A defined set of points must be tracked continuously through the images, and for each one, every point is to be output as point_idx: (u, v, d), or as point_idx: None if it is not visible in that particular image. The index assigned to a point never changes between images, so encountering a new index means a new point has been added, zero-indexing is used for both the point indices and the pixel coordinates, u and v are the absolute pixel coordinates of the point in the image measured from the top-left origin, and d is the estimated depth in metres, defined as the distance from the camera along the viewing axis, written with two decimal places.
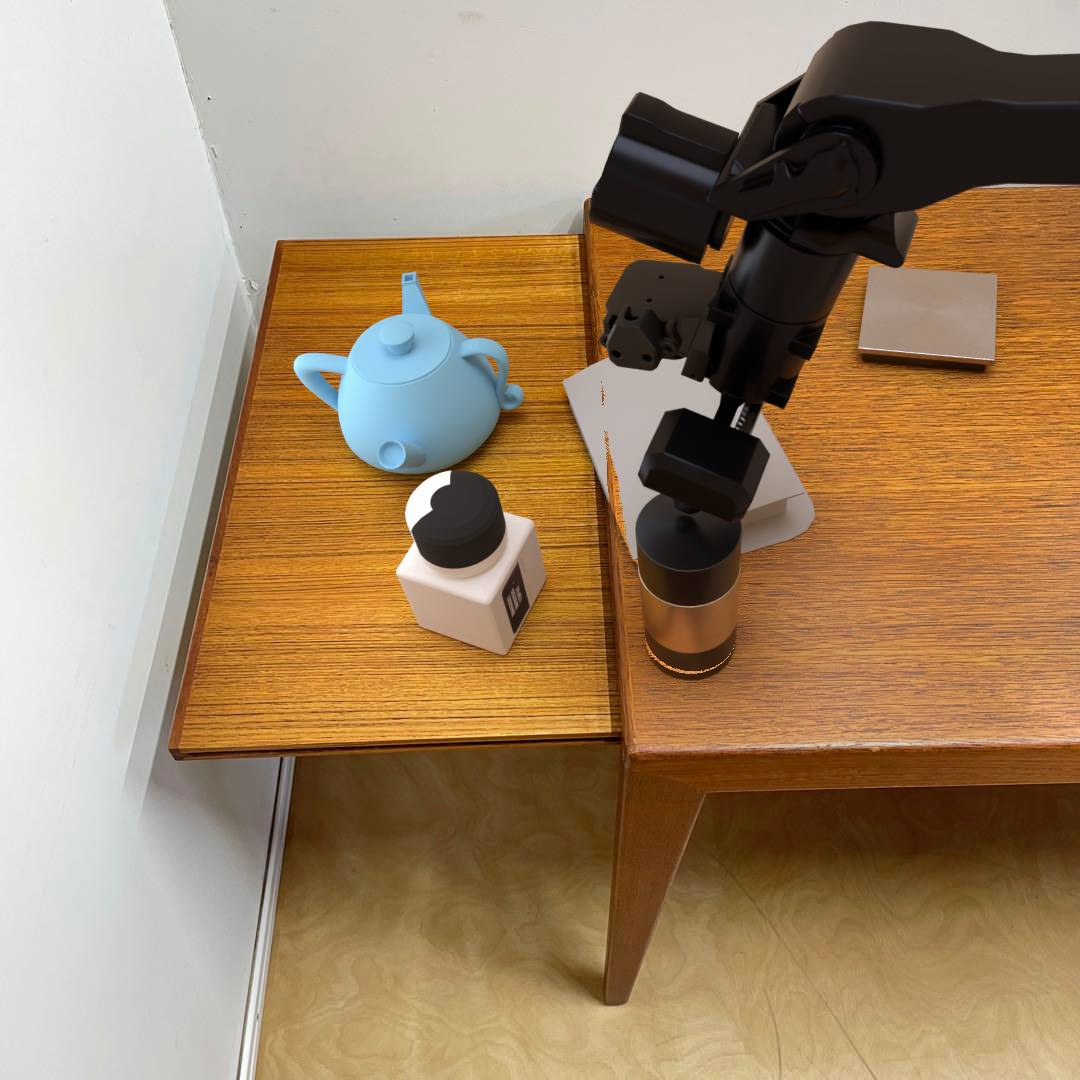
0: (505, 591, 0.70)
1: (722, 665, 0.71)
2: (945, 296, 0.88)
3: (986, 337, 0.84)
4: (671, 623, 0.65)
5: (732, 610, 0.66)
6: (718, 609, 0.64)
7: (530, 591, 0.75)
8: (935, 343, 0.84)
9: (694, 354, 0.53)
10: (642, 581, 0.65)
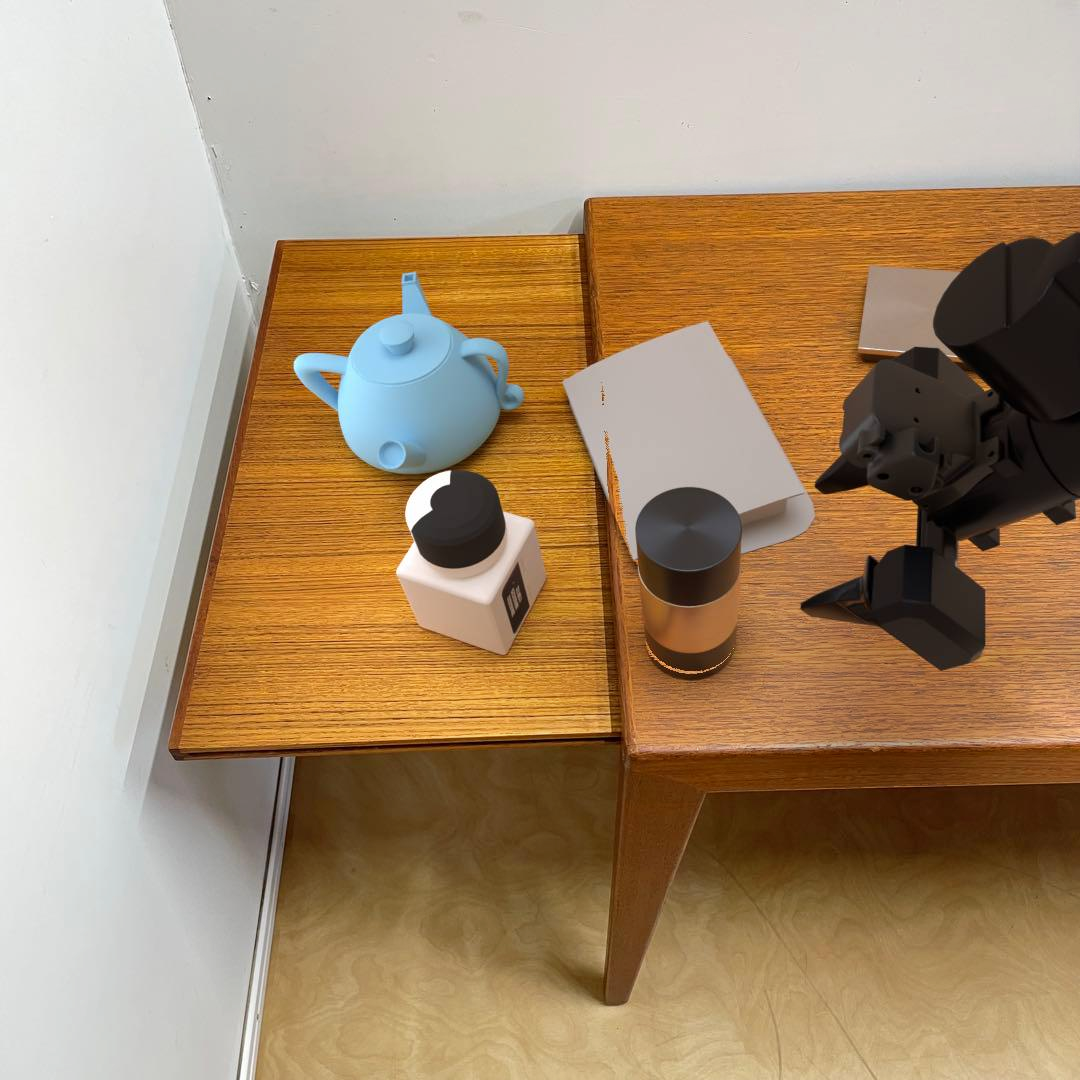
0: (505, 590, 0.70)
1: (722, 665, 0.71)
2: None
3: None
4: (671, 623, 0.65)
5: (732, 610, 0.66)
6: (718, 609, 0.64)
7: (530, 591, 0.75)
8: (935, 343, 0.84)
9: (949, 491, 0.49)
10: (642, 581, 0.65)
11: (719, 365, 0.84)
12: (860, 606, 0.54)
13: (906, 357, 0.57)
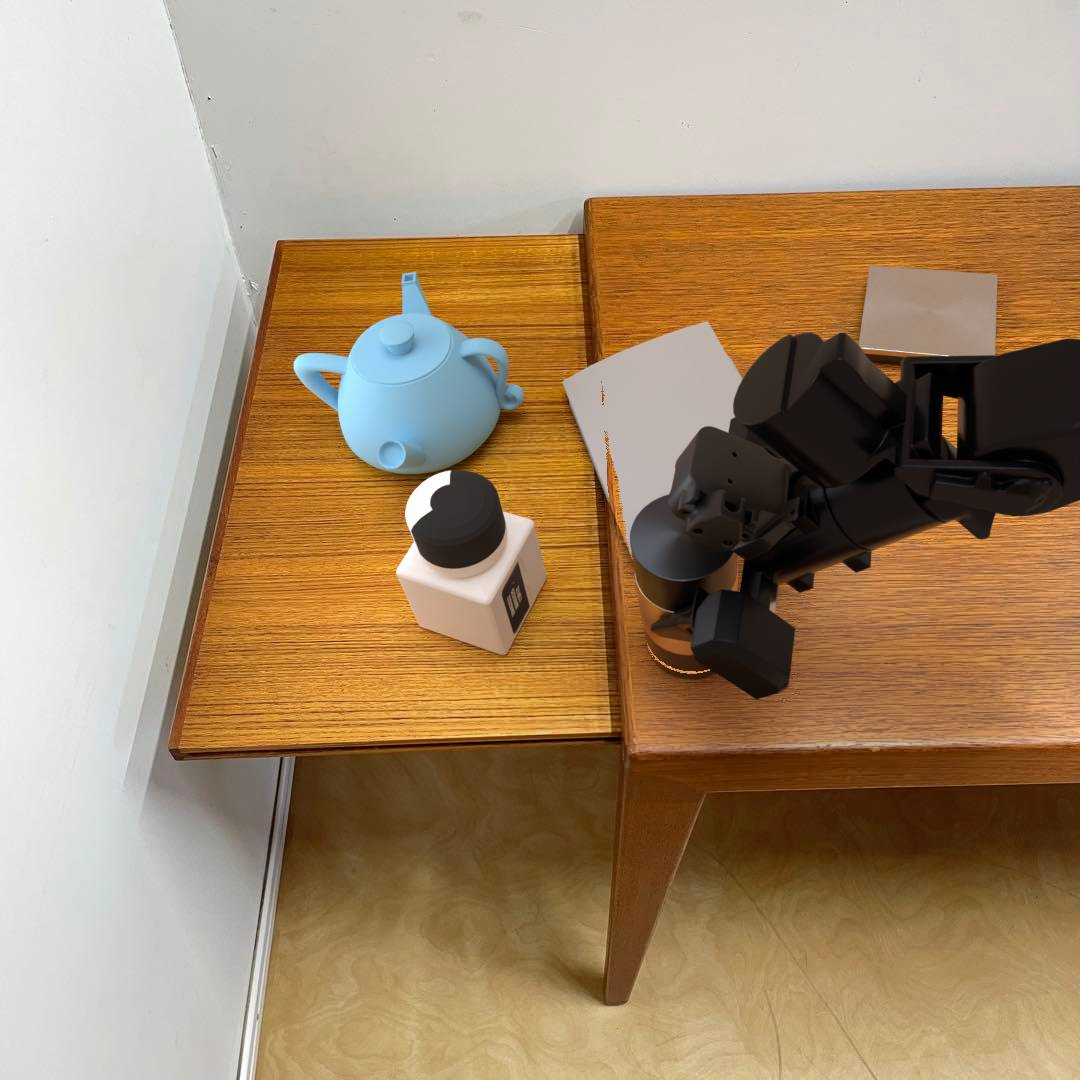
0: (505, 590, 0.70)
1: None
2: (945, 296, 0.88)
3: (986, 337, 0.84)
4: None
5: None
6: None
7: (530, 591, 0.75)
8: (935, 343, 0.84)
9: (760, 542, 0.56)
10: (638, 586, 0.64)
11: (719, 365, 0.84)
12: None
13: None
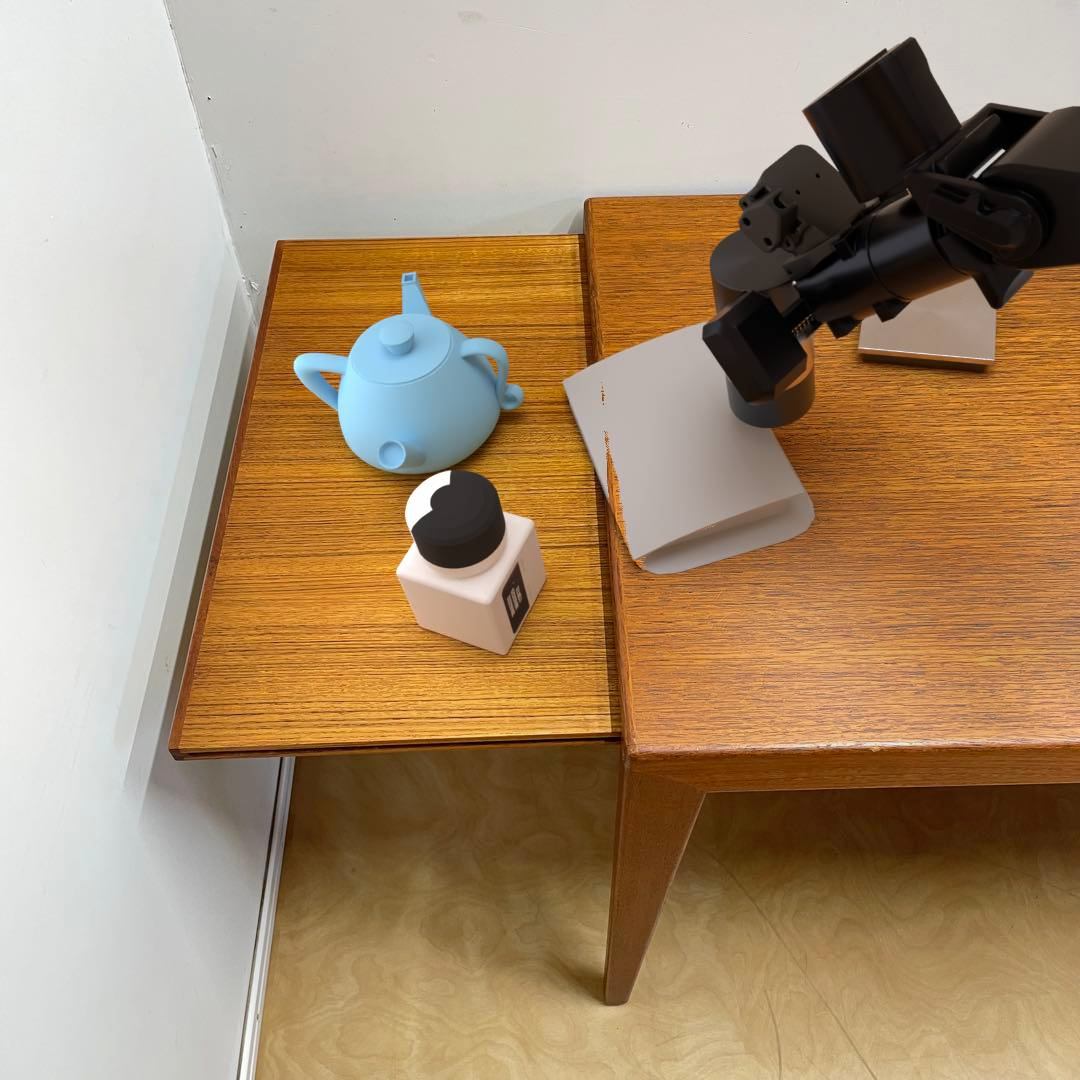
0: (505, 590, 0.70)
1: (779, 422, 0.75)
2: (945, 296, 0.88)
3: (986, 337, 0.84)
4: None
5: None
6: None
7: (530, 591, 0.75)
8: (935, 343, 0.84)
9: (803, 260, 0.60)
10: None
11: (719, 365, 0.84)
12: None
13: None
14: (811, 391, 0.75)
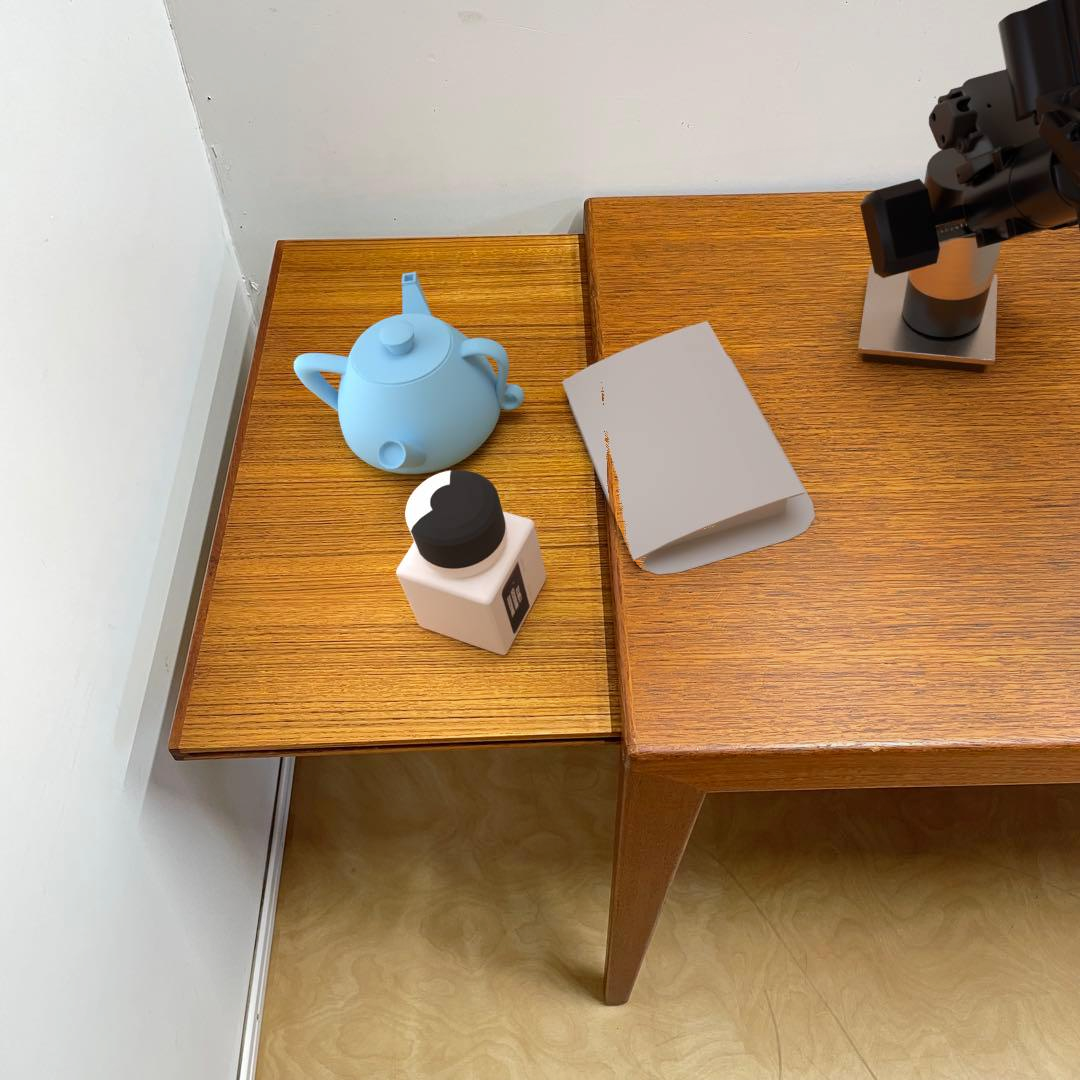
0: (505, 590, 0.70)
1: (933, 330, 0.84)
2: None
3: (986, 337, 0.84)
4: None
5: (957, 269, 0.79)
6: (943, 249, 0.78)
7: (530, 591, 0.75)
8: (935, 343, 0.84)
9: (969, 165, 0.69)
10: None
11: (719, 365, 0.84)
12: None
13: None
14: (973, 316, 0.83)
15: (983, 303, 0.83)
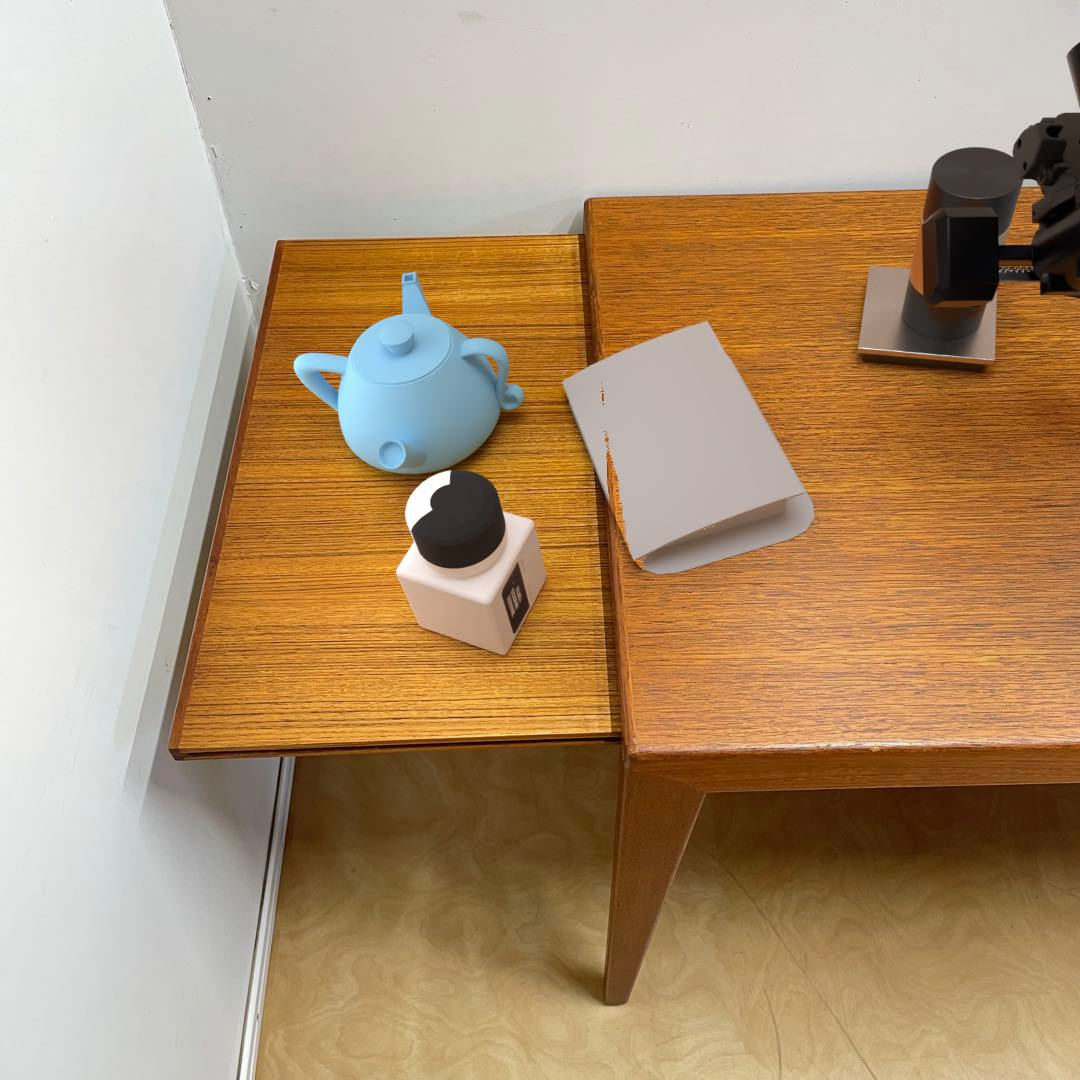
0: (505, 590, 0.70)
1: (933, 332, 0.84)
2: None
3: (986, 337, 0.84)
4: (917, 245, 0.81)
5: None
6: None
7: (530, 591, 0.75)
8: (935, 343, 0.84)
9: (1047, 199, 0.63)
10: None
11: (719, 365, 0.84)
12: None
13: None
14: (973, 319, 0.83)
15: (983, 306, 0.83)
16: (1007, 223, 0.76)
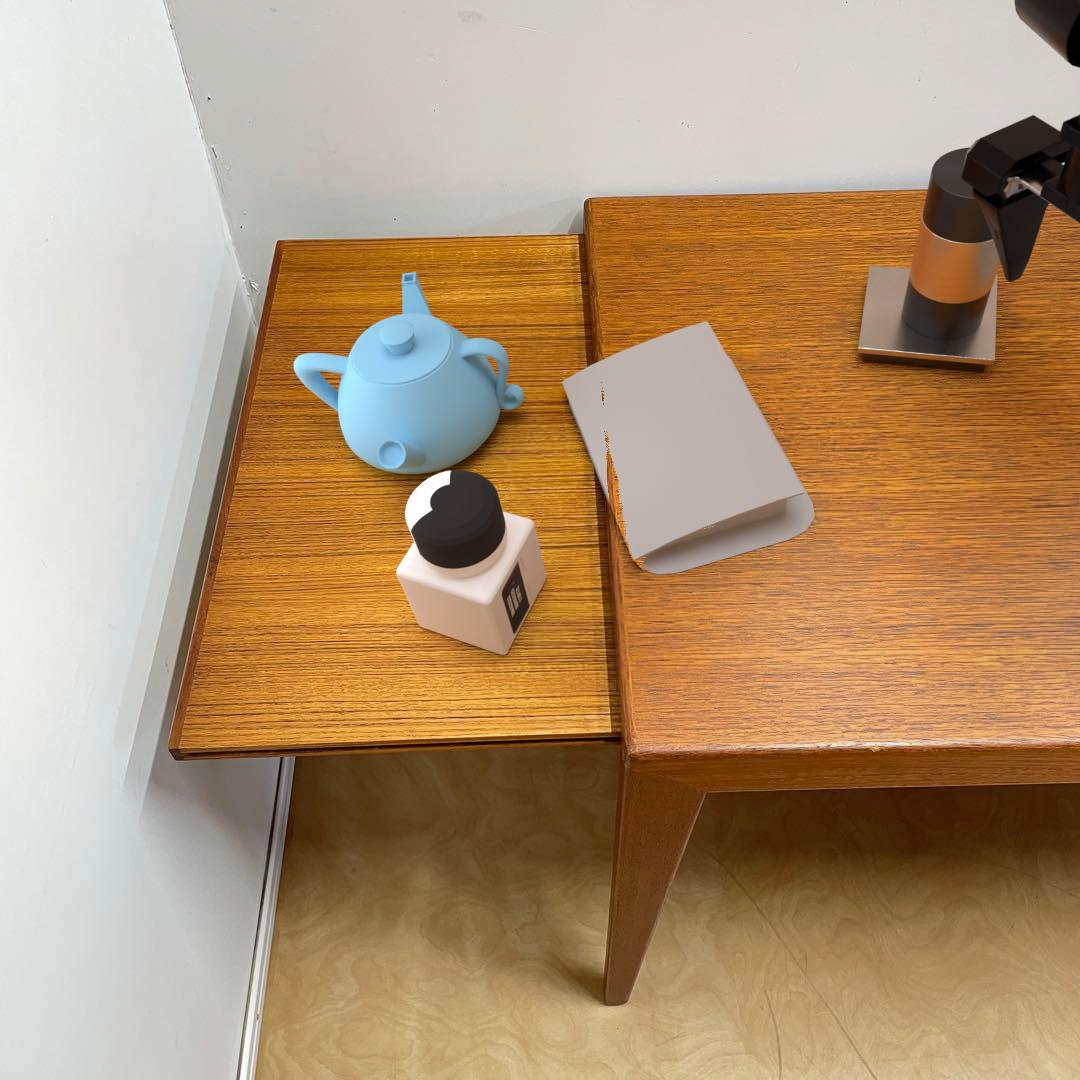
0: (505, 590, 0.70)
1: (933, 332, 0.84)
2: None
3: (986, 337, 0.84)
4: (917, 245, 0.81)
5: (959, 273, 0.79)
6: (946, 253, 0.78)
7: (530, 591, 0.75)
8: (935, 343, 0.84)
9: None
10: None
11: (719, 365, 0.84)
12: None
13: None
14: (973, 319, 0.83)
15: (983, 306, 0.83)
16: None
